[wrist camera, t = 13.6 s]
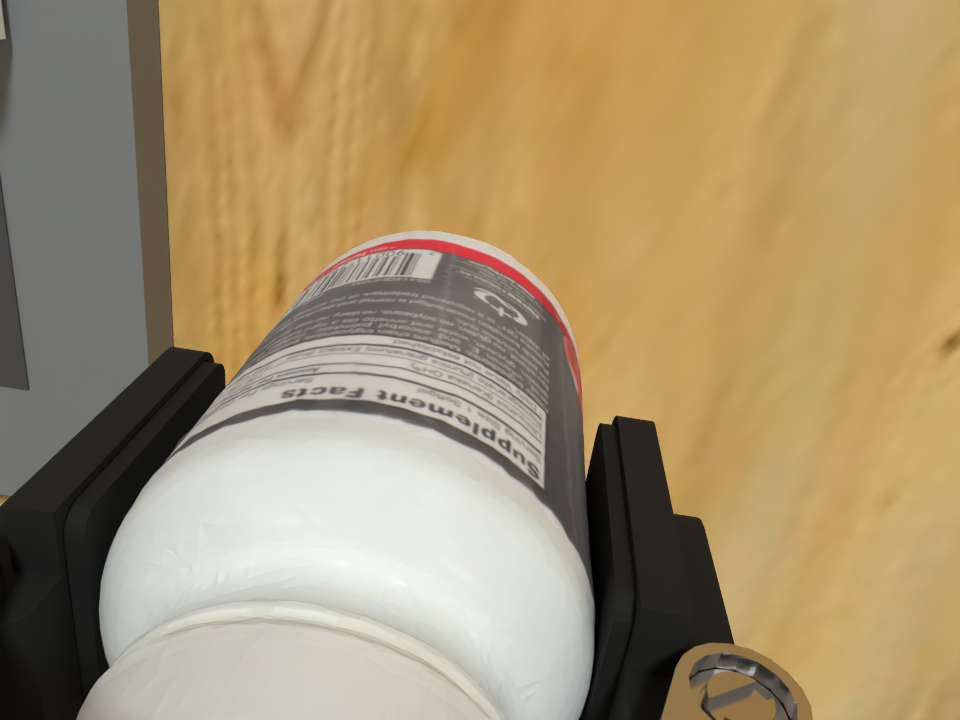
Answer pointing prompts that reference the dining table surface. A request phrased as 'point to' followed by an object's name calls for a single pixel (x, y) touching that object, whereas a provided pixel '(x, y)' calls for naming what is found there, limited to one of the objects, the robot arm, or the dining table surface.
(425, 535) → the pill bottle
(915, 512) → the dining table surface
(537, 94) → the dining table surface
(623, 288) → the dining table surface
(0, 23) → the switch tab
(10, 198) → the switch board
